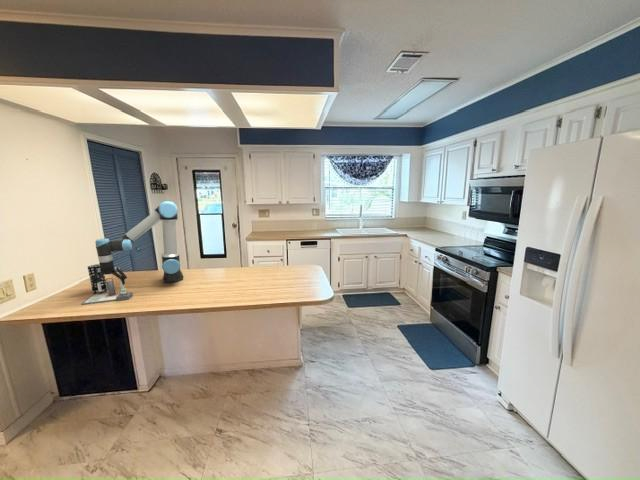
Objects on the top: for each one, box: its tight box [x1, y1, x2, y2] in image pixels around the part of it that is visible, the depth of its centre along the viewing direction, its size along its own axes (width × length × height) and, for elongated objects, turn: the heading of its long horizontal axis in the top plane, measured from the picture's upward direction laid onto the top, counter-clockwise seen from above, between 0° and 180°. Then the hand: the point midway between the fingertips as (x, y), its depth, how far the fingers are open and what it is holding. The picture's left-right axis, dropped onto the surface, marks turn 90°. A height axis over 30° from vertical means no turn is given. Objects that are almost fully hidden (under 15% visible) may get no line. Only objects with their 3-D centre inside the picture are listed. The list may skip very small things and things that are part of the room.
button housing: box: [116, 291, 134, 302], centre depth 184 cm, size 7×7×3 cm
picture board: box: [81, 291, 122, 306], centre depth 185 cm, size 20×15×1 cm
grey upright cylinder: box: [105, 277, 117, 296], centre depth 187 cm, size 4×4×12 cm
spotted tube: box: [87, 263, 108, 295], centre depth 195 cm, size 8×8×20 cm
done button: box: [119, 287, 128, 295], centre depth 183 cm, size 4×4×4 cm
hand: (111, 290), depth 188 cm, fingers open, 13 cm apart
